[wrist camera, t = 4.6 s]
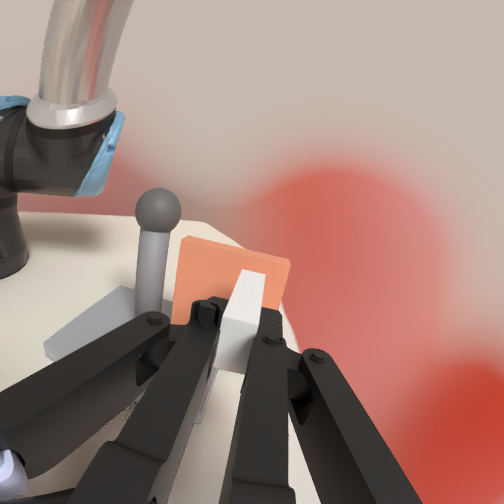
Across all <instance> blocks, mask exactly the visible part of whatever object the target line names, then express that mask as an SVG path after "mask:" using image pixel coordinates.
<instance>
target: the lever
mask: <svg viewBox="0 0 504 504" xmlns="http://www.w3.org/2000/svg"><path fill="white" fill-rule="evenodd" d="M135 215H136V220H137V222H138V224H139V226H140V227H141V229H140V238H139V247H138V258H137V271H136V286H135V310H134V318H135V317H137V316H139V315H141V314H142V313H145V312H150V311H157V312H160V313H161V310H162V298H163V288H164V278H165V270H166V261H167V253H168V246H169V239H170V232H171V230H173V229H174V228H175V227H176V225H177V224H178V222H179V220H180V217H181V205H180V202H179V200H178V198H177V197H176V196H175V194H173V193H172V192H171V191H169V190H167V189H164V188H154V189H151V190H149V191H147V192H145V193H144V194H143V195H142V196H141V197H140V199H139V200H138V202H137V205H136V209H135ZM290 266H291V265H290V260H289V259H285V258H281V257H277V256H272V255H268V254H264V253H259V252H256V251H251V250H247V249H243V248H239V247H235V246H230V245H226V244H222V243H218V242H213V241H209V240H205V239H201V238H197V237H192V236H187V237H185V238H183V239H182V240H181V245H180V252H179V259H178V266H177V274H176V282H175V290H174V298H173V308H172V317H171V324H177V325H185V324H187V323H188V322H189V320H190V313H191V306H192V303H193V302H194V301H196V300H207V299H208V298H210V297H212V296H216V297H220V298H224V299H228V300H230V297H231V295H232V292H233V290H234V288H235V285H236V283H237V280H238V278H239V276H240V273H241V271H242V269H244V270H248V271H252V272H257V273H261V274H265V283H264V290H263V298H262V305H261V307H265V308H270V309H274V310H278V309H279V306H280V302H281V299H282V295H283V292H284V288H285V284H286V280H287V277H288V274H289V270H290Z"/></svg>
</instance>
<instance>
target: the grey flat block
mask: <svg viewBox="0 0 504 504" xmlns="http://www.w3.org/2000/svg"><path fill="white" fill-rule="evenodd" d="M172 308H173V302H170V301H167V300H164V299H162V310H161V313H163V314H165V315H167V316H168V317H169V318H170V324H171V317H172ZM134 310H135V290H132V289H129V288H126V287H123V286H119V287H118V288H116V289H115V290H113V291H112V292H111V293H109V294H108V295H106V296H105V297H104V298H102V299H101V300H99V301H98V302H97V303H95V304H94V305H93V306H91V307H90V308H88V309H87V310H86V311H84V312H83V313H82V314H80V315H79V316H78V317H76V318H75V319H74V320H72V321H71V322H70V323H68V324H67V325H66V326H64V327H63V328H62V329H60V330H59V331H58V332H56V333H55V334H54V335H53V336H51V337H50V338H49V339H47V340H46V341H45V342H44V343H43V344H44V349H45V353H46V357H48V358H49V359H51V360H53V361H54V362H56V361H58V360H59V359H61V358H63V357H65V356H67V355H68V354H70V353H72V352H74V351H76V350H77V349H79V348H81V347H83V346H85V345H86V344H88V343H90V342H92V341H94V340H95V339H97V338H99V337H101V336H103V335H104V334H106V333H108V332H110V331H112V330H114V329H115V328H117V327H119V326H121V325H123V324H124V323H126V322H128V321H130V320H132V319H133V318H134ZM213 364H214V363H213ZM217 370H218V368H215V367H213V366H212V372H211V375H210V378H209V381H208V384H207V387H206V390H205V393H204V396H203V398H202V401H201V404H200V407H199V410H198V413H197V416H196V418H195V421H194V423H198V424H200V423H201V419H202V416H203V413H204V410H205V407H206V404H207V401H208V398H209V395H210V392H211V389H212V386H213V383H214V380H215V377H216V373H217ZM145 391H146V390H145ZM145 391H144V392H145ZM144 392H143V393H142V394H140V395H139V396H138V397H137V398H136V399H135V400H134V402H136V403H138V402H139V401H140V399H141V397H142V396H143V394H144Z"/></svg>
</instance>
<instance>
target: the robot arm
mask: <svg viewBox="0 0 504 504" xmlns="http://www.w3.org/2000/svg"><path fill="white" fill-rule="evenodd" d="M133 2H134V0H54V3H53V7H52V10H51V14H50V18H49V22H48V27H47V32H46V37H45V42H44V48H43V55H42V62H41V71H40V81H39V92H38V93H37V94H36V96H35V97H34V98H33V99H32V100H31V99H29V98H27V97H23V96H0V278H3V277H6V276H8V275H10V274H13V273H14V272H16V271H18V270H19V269H20V268H22V267H23V266H24V264H25V263H26V261H27V248H26V242H25V238H24V235H23V231H22V228H21V224H20V220H19V216H18V212H17V195H18V194H17V193H18V192H21V193H34V194H48V195H59V196H69V197H77V196H84V197H93V196H96V195H98V194H100V193H101V192H102V191H103V189H104V187H105V184H106V180H107V176H108V173H109V170H110V166H111V162H112V159H113V155H114V151H115V149H116V145H117V142H118V139H119V136H120V133H121V130H122V127H123V124H124V120H125V114H123V113H121V112H120V111H115V109H116V104H117V98H116V95H115V94H114V93H113V91H112V90H111V89H110V88H108V83H109V79H110V75H111V70H112V66H113V62H114V59H115V55H116V52H117V48H118V45H119V41H120V38H121V35H122V32H123V29H124V26H125V23H126V20H127V17H128V15H129V12H130V9H131V6H132V4H133ZM264 283H265V274H261V273H257V272H252V271H248V270H244V269H242V271H241V273H240V276H239V278H238V280H237V283H236V285H235V288H234V290H233V292H232V295H231V297H230V300H228V299H224V298H220V297H216V296H212V297H210V298H208V299H207V300H196V301H194V302H193V303H192V306H191V313H190V320H189V322H188V323H187V324H185V325H177V324H170V318H169V317H168V316H167V315H165V314H163V313H160V312H157V311H150V312H145V313H142V314H141V315H139V316H137V317H135V318H133V319H132V320H130V321H128V322H126V323H124V324H123V325H121V326H119V327H117V328H115V329H114V330H112V331H110V332H108V333H106V334H104V335H103V336H101V337H99V338H97V339H95V340H94V341H92V342H90V343H88V344H86V345H85V346H83V347H81V348H79V349H77V350H76V351H74V352H72V353H70V354H68V355H67V356H65V357H63V358H61V359H59V360H58V361H56V362H54V363H52V364H50V365H48V366H47V367H45V368H43V369H41V370H39V371H38V372H36V373H34V374H32V375H30V376H29V377H27V378H25V379H23V380H21V381H20V382H18V383H16V384H14V385H12V386H10V387H9V388H7V389H5V390H3V391H1V392H0V504H167V500H168V496H169V493H170V490H171V487H172V484H173V481H174V479H175V476H176V473H177V470H178V467H179V464H180V461H181V459H182V456H183V453H184V450H185V447H186V444H187V441H188V439H189V436H190V433H191V430H192V427H193V424H194V421H195V418H196V416H197V413H198V410H199V407H200V404H201V401H202V398H203V396H204V393H205V390H206V387H207V384H208V381H209V378H210V375H211V372H212V366H213V367H215V368H219V369H223V370H227V371H232V372H236V373H240V374H245V377H244V381H243V384H242V388H241V391H240V393H241V396H240V401H239V406H238V411H237V416H236V422H235V427H234V432H233V437H232V442H231V447H230V451H229V456H228V461H227V466H226V471H225V476H224V481H223V485H222V490H221V495H220V499H219V504H296V497H295V492H294V489H293V488H291V487H289V485H288V412H289V415H290V418H291V421H292V424H293V427H294V429H295V432H296V435H297V438H298V441H299V444H300V446H301V449H302V452H303V455H304V458H305V461H306V463H307V466H308V469H309V472H310V475H311V477H312V480H313V483H314V486H315V488H316V491H317V494H318V496H319V499H320V502H321V504H423V503H422V502H421V500H420V498H419V497H418V495H417V493H416V492H415V490H414V488H413V487H412V485H411V483H410V482H409V480H408V479H407V477H406V475H405V474H404V472H403V470H402V469H401V467H400V465H399V464H398V462H397V461H396V459H395V458H394V456H393V454H392V452H391V451H390V449H389V448H388V446H387V444H386V443H385V441H384V440H383V438H382V436H381V435H380V433H379V432H378V430H377V428H376V427H375V425H374V424H373V422H372V421H371V419H370V417H369V416H368V414H367V412H366V411H365V409H364V408H363V406H362V404H361V403H360V401H359V400H358V398H357V396H356V395H355V393H354V392H353V390H352V389H351V387H350V385H349V384H348V382H347V381H346V379H345V378H344V376H343V375H342V373H341V371H340V370H339V368H338V367H337V365H336V364H335V362H334V360H333V359H332V357H331V356H330V355H329V354H328V353H326V352H324V351H323V350H320V349H314V348H311V349H306V350H304V352H303V353H302V354H300V353H297V352H295V351H293V350H291V349H289V348H288V347H287V346H286V341H285V339H284V338H283V330H282V315H281V313H280V312H279V311H278V310H274V309H270V308H265V307H261V305H262V298H263V290H264ZM213 363H214V364H213ZM145 390H146V391H145ZM144 391H145V392H144ZM143 392H144V394H143V396H142V397H141V399H140V401H139V402H138V404H137V406H136V407H135V409H134V410H133V412H132V414H131V415H130V417H129V419H128V420H127V422H126V424H125V425H124V427H123V429H122V430H121V432H120V434H119V435H118V437H117V438H116V440H115V441H107V442H105V443H104V444H103V445H102V446H101V448H100V449H99V451H98V452H97V454H96V455H95V457H94V459H93V460H92V462H91V464H90V465H89V467H88V468H87V470H86V472H85V473H84V475H83V477H82V478H81V480H80V482H79V483H78V485H77V487H76V488H71V489H67V490H63V491H59V492H54V493H50V494H45V495H40V496H34V497H28V498H21V499H14V498H15V497H16V496H18V495H26V494H27V493H28V479H32V478H35V477H37V476H39V475H41V474H43V473H45V472H47V471H48V470H50V469H51V468H53V467H54V466H55V465H57V464H58V463H59V462H61V461H62V460H63V459H64V458H66V457H67V456H68V455H69V454H71V453H72V452H73V451H74V450H75V449H77V448H78V447H79V446H80V445H82V444H83V443H84V442H85V441H86V440H88V439H89V438H90V437H91V436H93V435H94V434H95V433H96V432H97V431H99V430H100V429H101V428H102V427H103V426H104V425H106V424H107V423H108V422H109V421H110V420H112V419H113V418H114V417H115V416H116V415H117V414H119V413H120V412H121V411H122V410H123V409H124V408H126V407H127V406H128V405H129V404H130V403H131V402H132V401H134V400H135V399H136V398H137V397H138V396H139V395H140V394H142V393H143Z"/></svg>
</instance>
